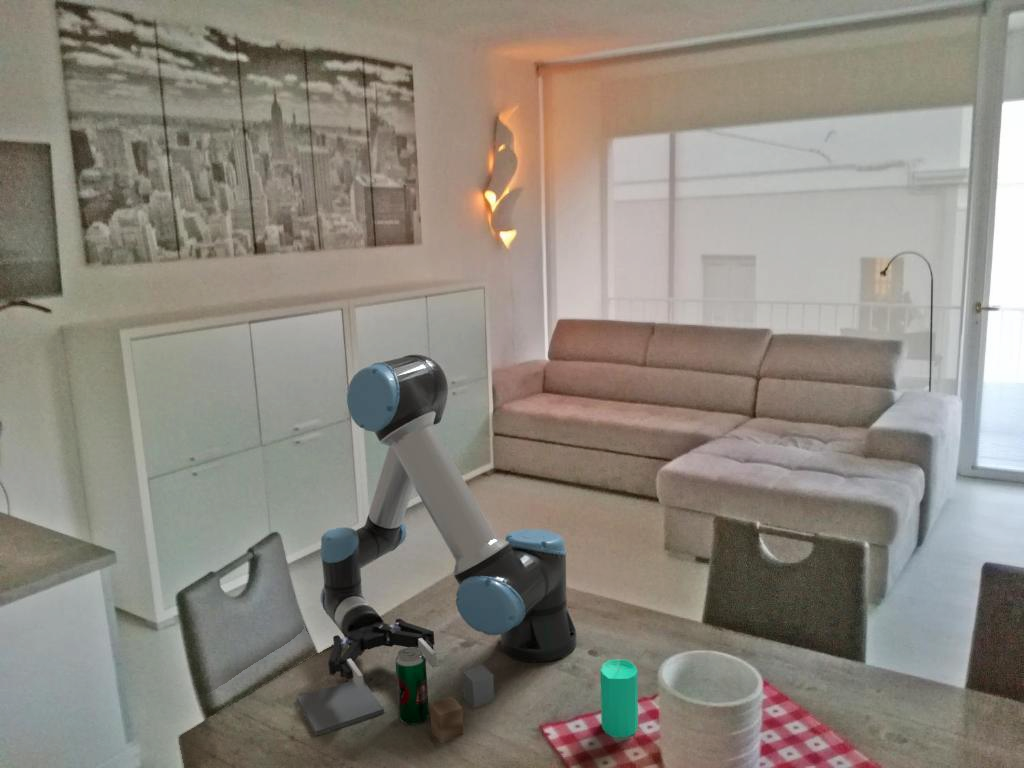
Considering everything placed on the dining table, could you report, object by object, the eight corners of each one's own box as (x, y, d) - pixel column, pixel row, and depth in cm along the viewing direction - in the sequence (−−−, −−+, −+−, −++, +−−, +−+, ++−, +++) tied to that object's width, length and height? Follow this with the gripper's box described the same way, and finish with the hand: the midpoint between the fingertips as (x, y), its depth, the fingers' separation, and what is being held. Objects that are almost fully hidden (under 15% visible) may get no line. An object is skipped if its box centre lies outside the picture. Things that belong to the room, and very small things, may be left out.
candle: (614, 711, 141) (613, 647, 138) (644, 724, 137) (644, 658, 135) (594, 729, 136) (593, 662, 134) (625, 742, 132) (624, 674, 130)
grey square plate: (361, 681, 153) (360, 677, 153) (384, 712, 143) (383, 708, 143) (297, 701, 147) (296, 697, 147) (316, 735, 137) (315, 731, 137)
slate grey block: (483, 690, 149) (482, 665, 148) (494, 700, 145) (493, 675, 144) (464, 697, 147) (462, 671, 146) (474, 707, 143) (472, 681, 142)
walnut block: (453, 722, 139) (451, 696, 138) (463, 735, 136) (462, 707, 135) (431, 730, 137) (429, 703, 136) (441, 743, 134) (439, 715, 133)
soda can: (424, 727, 138) (419, 661, 136) (395, 724, 139) (390, 659, 137) (432, 710, 143) (428, 646, 141) (405, 707, 144) (400, 644, 142)
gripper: (419, 623, 169) (463, 670, 150) (298, 658, 157) (330, 713, 139) (417, 589, 167) (461, 632, 149) (294, 621, 155) (326, 672, 137)
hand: (398, 671), depth 144 cm, fingers open, 13 cm apart
